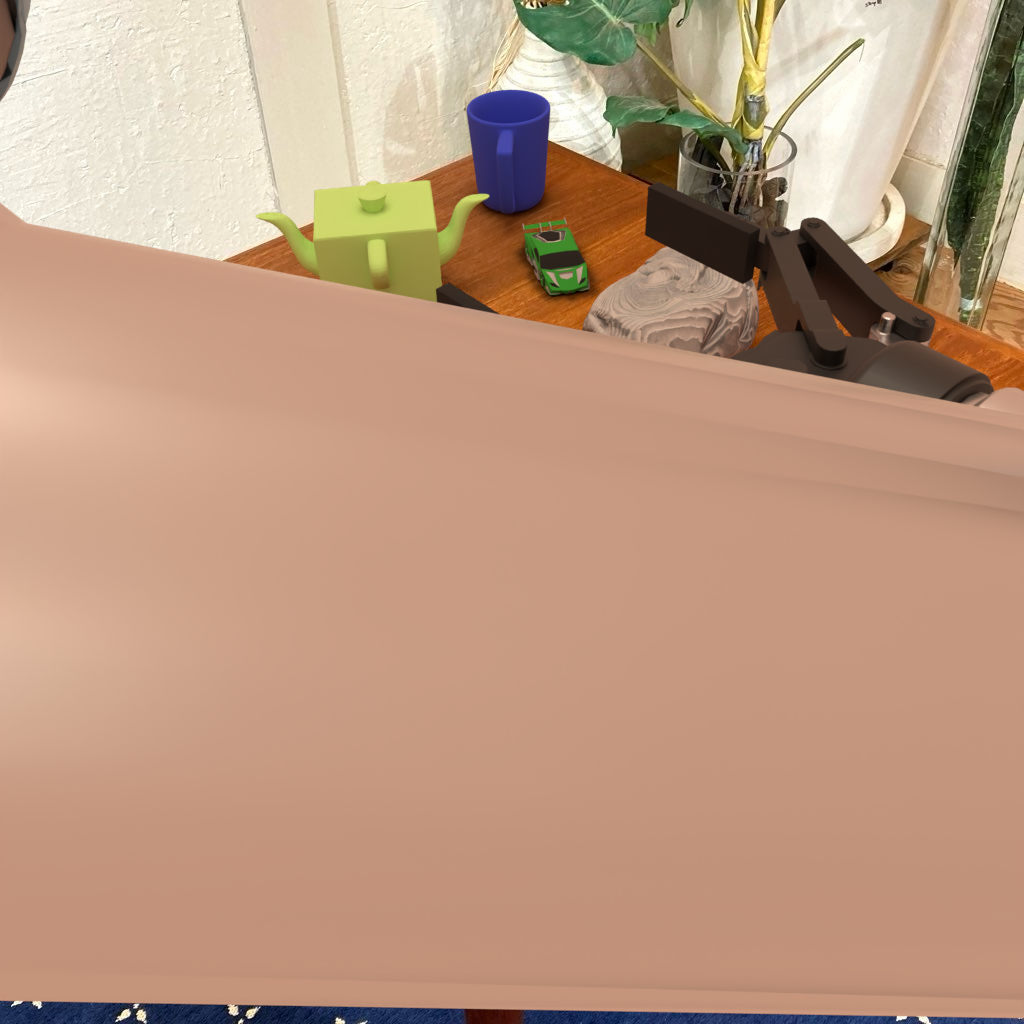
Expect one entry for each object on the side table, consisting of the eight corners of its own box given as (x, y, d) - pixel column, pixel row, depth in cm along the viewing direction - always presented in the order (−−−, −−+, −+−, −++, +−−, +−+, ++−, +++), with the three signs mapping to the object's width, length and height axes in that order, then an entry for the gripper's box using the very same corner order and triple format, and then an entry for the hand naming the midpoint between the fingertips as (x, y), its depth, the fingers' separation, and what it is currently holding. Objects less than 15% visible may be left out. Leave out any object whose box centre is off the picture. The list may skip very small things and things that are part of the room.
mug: (465, 239, 105) (459, 143, 99) (475, 182, 114) (469, 89, 107) (548, 239, 105) (548, 142, 98) (551, 181, 114) (551, 88, 107)
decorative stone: (584, 371, 84) (606, 242, 80) (568, 332, 96) (586, 218, 93) (764, 394, 85) (794, 268, 81) (725, 352, 98) (749, 241, 94)
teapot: (274, 309, 97) (250, 202, 90) (368, 245, 105) (353, 141, 98) (406, 361, 91) (392, 249, 84) (495, 288, 99) (490, 180, 92)
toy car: (595, 291, 98) (595, 269, 96) (545, 299, 97) (544, 277, 96) (567, 237, 105) (567, 216, 103) (520, 244, 104) (519, 223, 103)
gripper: (712, 719, 37) (352, 430, 48) (1078, 407, 48) (716, 235, 60) (738, 569, 31) (328, 286, 43) (1142, 260, 43) (732, 103, 55)
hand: (553, 256), depth 52 cm, fingers open, 13 cm apart
